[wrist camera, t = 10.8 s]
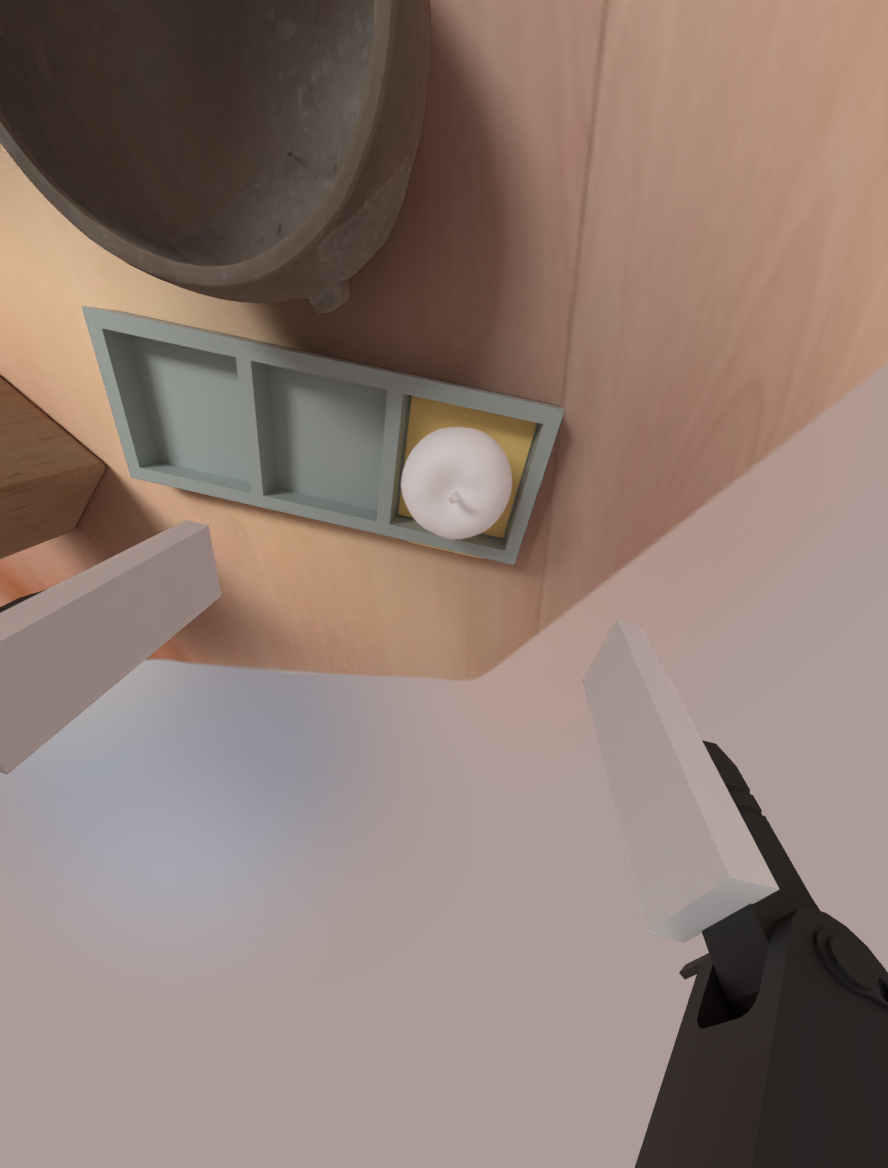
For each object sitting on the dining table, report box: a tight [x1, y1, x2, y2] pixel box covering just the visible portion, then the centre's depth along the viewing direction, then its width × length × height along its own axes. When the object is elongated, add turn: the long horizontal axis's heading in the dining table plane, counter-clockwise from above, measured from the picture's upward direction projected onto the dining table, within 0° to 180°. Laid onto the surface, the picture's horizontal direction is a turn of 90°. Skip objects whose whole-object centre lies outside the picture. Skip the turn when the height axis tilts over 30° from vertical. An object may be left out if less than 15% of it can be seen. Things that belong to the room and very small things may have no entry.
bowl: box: [0, 0, 430, 314], centre depth 15 cm, size 17×18×10 cm
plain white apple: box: [401, 427, 512, 539], centre depth 23 cm, size 7×7×8 cm
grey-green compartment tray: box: [82, 306, 565, 565], centre depth 27 cm, size 11×31×3 cm, turn 80°
